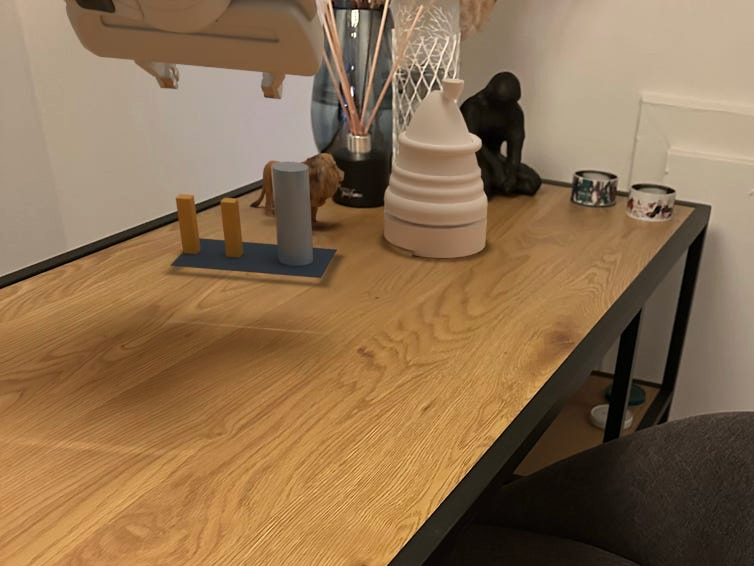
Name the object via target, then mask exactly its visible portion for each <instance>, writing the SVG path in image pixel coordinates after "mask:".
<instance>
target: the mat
mask: <svg viewBox="0 0 754 566" xmlns="http://www.w3.org/2000/svg"><path fill="white" fill-rule="evenodd" d="M199 240H200V248H201V250H200V251H199V252H198V254H187V253H183V251H182V252H181V253H180V254H179V255H178V256H177V257H176V258H175V259H174V261H173V262H171V264H170V267H180V268H181V267H183V268H194V269H205V270H217V271H228V272H229V271H231V272H241V273H254V274H255V273H256V274H266V275H267V274H268V275H278V276H290V277H291V276H292V277H301V278H302V277H303V278H316V279H322V277H323V275H324V274H325V272H326V270H327V269H328V267H329V265H330V263H331V261H332V260H333V258H334V257H335V254H336V252H337V251H338V248H337V249H336V248H323V247H313V262H312V263H311V264H308V265H304V266H289V265H285V264H282V263H280V262H279V260H278V249H277V243H276V244H275V243H274V244H272V243H265V242H264V243H263V242H250V241H249V242H248V241H242V245H243V255H242V256H241V257H240V258H236V257H227V256H226V249H225V240H224V239H214V238H201V237H199Z"/></svg>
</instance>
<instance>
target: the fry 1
mask: <svg viewBox="0 0 754 566" xmlns="http://www.w3.org/2000/svg"><path fill="white" fill-rule="evenodd" d="M175 205H176V211H177V219H178V226H179V232H180V239H181V246H182V252H183V253H187V254H198V252H199V251H200V250H201V248H200V240H199V238H200V231H199V225H198V224H199V223H198V217H197V209H196V201H195V195H194V194H183V193H180V194H178V195H177V196H176V197H175Z"/></svg>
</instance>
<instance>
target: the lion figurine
mask: <svg viewBox="0 0 754 566" xmlns="http://www.w3.org/2000/svg"><path fill="white" fill-rule="evenodd" d="M278 162H280V161H279V160H269V161H268V162H267V163H265V164H264V167H263V170H262V187H261V193H260V195H259V197H258V199H257V200H254V201H253V202H252V203H251V204H249V207H251V208H255V209H256V208H257V207H259V206H260V205H261V203H262V202H263V201H264V198H265V203H264V208H265V212H266V213H265V214H266V216H267V217H268V218H275V214H274V213H273V211H272V210H273V209H274V197H273V184H272V171H271V166H272V164H275V163H278ZM299 163H303V164H306V165H307V166H308V167H309V186H310V205H311V223H312V224H313V223H316V224H319V223H320V221H319V220H317V215H318V214H317V213H318V210H319V208H321V207H323V206H325V205H326V203H327V200H328V199H330V198H332V197H333V196H334V195H335V194H336V193H337V191H338V188H341V186H342V182H343V181H344V178H345V171H343V170H342V169H340V168H339V167H338V165H337V163H336V161H335V160H334V157H333V155H332V154H330V153H327V152H320V153H319V152H318V153H317V154H314V155H313V156H311V157H308V158H306V159H305V160H303V161H299Z"/></svg>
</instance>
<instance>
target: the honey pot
mask: <svg viewBox="0 0 754 566" xmlns="http://www.w3.org/2000/svg"><path fill="white" fill-rule="evenodd" d="M464 87H465V80H464V79H461V78H453V77H451V78H450V77H449V78H441V89H442V90H439V89H438V90H436V89H434V90H432V91H431V92H429V93H428V94H427V95H426V96H424V98H423V99H422V101H421V102H420V103H419V104H418V106H417V107H416V110H415V111H414V112H413V115H412V117H411V119H410V121H409V124H408V126H407V128H406V129H405V130H404V131H402V132H401V133H399V135H398V137H397V142H398V144H399V146H400V147H399V150H398V153H397V157H396V158H395V159H396V160H395V161H394V162H393V164H392V168H391V170H392V173H391V174H390V176H389V180H388V184H389V185H388V186H387V187H386V189H385V192H384V196H383V202H384V205H383V209H384V210H383V237H384V238H385V240H386V241H387V242H388V243H390V244H392V245H394V246H396V247H398V248H400V249H405V250H408V251H412V256H415V257H416V256H417V257H423V258H433V259H455V258H462V257H467V256H471V255H475V254H477V253H479V252H481V251H483V249H485V247H486V242H487V241H486V240H487V239H486V238H487V224H488V222H487V221H488V217H487V215H488V205H489V204H488V203H489V202H488V196H487V195H486V193H485V190H484V182H483V181H484V180H483V179H482V177H481V176H482V168H481V167H480V166H479V164H478V159H477V155H476V153H477V152H478V151H479V150H480V149H481V148H482V145H483V144H482V143H483V142H482V139H481V138H480V137H479V136H477V134H473V133H471V132H470V131H469V129H468V126H467V123H466V120H465V117H464V116H463V113H462V112H461V110H460V108H459V106H458V104H457V103H456V101H455V100H458V98H459V97H460V96H461V95H462V93H463V91H464Z"/></svg>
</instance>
